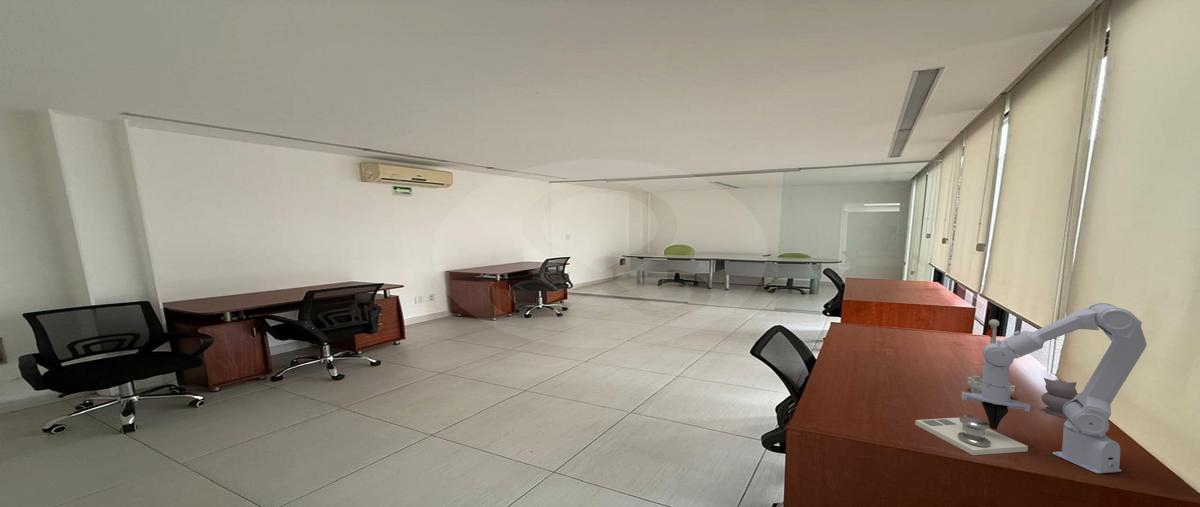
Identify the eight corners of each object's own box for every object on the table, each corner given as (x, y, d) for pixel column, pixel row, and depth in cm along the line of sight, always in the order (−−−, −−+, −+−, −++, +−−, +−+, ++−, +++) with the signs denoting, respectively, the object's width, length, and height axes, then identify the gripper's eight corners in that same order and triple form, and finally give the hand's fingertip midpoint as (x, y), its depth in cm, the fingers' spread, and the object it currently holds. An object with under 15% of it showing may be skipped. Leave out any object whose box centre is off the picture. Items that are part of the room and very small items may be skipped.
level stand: (1027, 451, 113) (1028, 445, 113) (973, 455, 111) (973, 449, 111) (963, 421, 131) (963, 416, 131) (915, 424, 129) (915, 419, 129)
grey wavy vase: (1044, 415, 136) (1046, 381, 135) (1037, 407, 142) (1039, 374, 142) (1082, 422, 131) (1084, 387, 130) (1072, 413, 137) (1075, 379, 137)
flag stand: (978, 386, 161) (982, 314, 160) (1021, 399, 149) (1026, 321, 148) (959, 391, 157) (963, 317, 155) (1002, 404, 144) (1007, 324, 143)
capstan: (992, 449, 111) (993, 431, 111) (959, 441, 115) (959, 424, 115) (983, 426, 124) (984, 410, 124) (953, 420, 128) (954, 404, 128)
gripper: (1025, 385, 117) (1023, 429, 118) (960, 375, 126) (958, 416, 127) (1033, 393, 112) (1030, 439, 112) (964, 381, 120) (962, 425, 121)
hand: (992, 427), depth 119 cm, fingers closed
